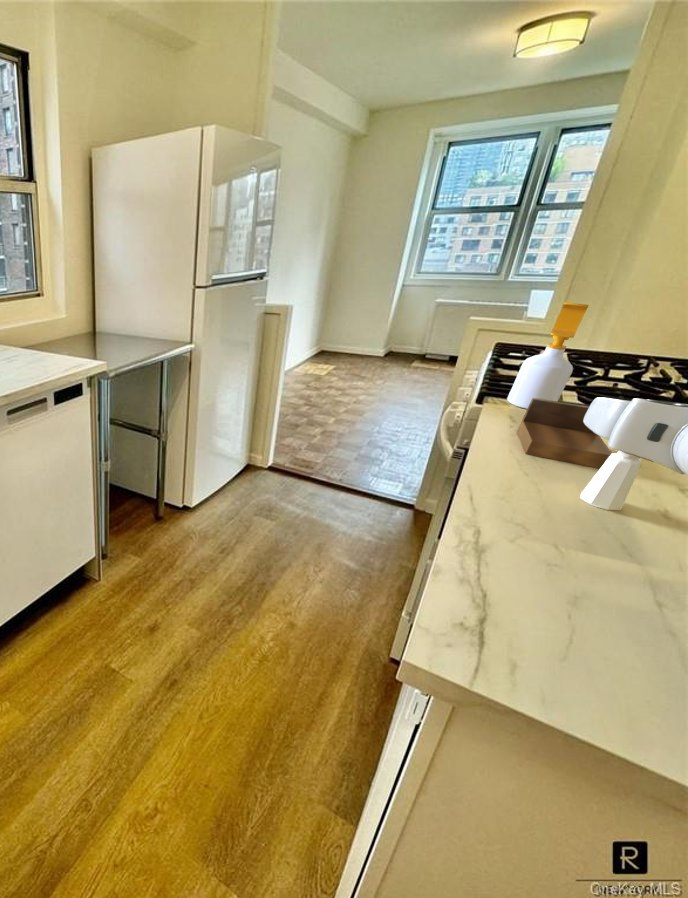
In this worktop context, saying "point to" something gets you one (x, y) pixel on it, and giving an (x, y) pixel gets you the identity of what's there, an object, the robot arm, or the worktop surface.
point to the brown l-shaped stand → (561, 434)
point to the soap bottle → (548, 362)
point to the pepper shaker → (612, 482)
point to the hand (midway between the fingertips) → (675, 422)
